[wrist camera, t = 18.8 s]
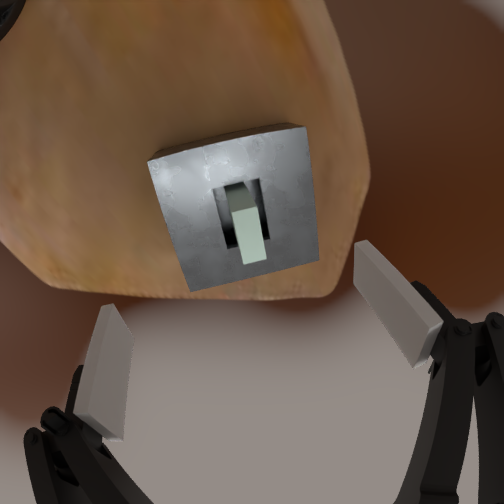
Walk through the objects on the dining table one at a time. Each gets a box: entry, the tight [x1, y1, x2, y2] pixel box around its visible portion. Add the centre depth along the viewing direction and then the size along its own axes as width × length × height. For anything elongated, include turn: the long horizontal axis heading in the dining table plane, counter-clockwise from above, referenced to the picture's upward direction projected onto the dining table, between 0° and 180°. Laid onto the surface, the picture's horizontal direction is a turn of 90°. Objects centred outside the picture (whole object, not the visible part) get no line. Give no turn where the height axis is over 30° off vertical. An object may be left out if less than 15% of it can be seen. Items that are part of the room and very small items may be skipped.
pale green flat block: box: [224, 181, 267, 264], centre depth 34 cm, size 2×6×12 cm, turn 10°
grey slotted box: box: [147, 123, 319, 292], centre depth 37 cm, size 18×18×7 cm
